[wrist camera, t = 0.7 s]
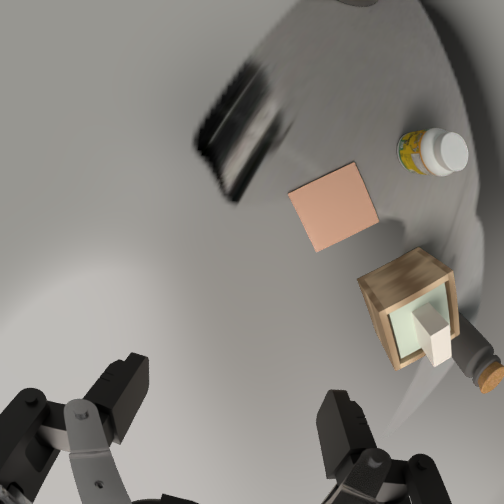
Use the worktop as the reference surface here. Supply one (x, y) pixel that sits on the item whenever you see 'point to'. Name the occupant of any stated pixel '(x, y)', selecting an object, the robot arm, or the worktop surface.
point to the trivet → (334, 207)
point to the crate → (406, 296)
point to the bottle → (476, 357)
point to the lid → (424, 326)
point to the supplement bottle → (432, 152)
